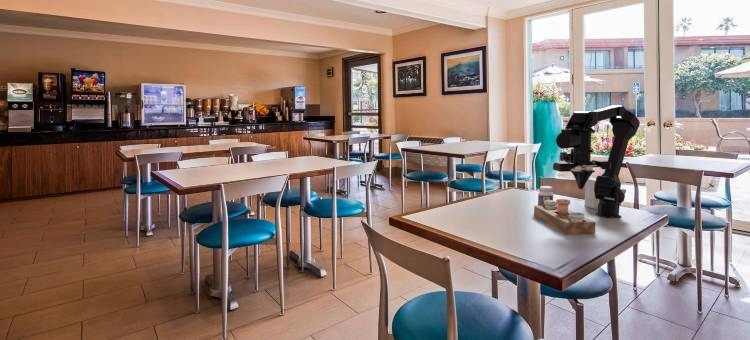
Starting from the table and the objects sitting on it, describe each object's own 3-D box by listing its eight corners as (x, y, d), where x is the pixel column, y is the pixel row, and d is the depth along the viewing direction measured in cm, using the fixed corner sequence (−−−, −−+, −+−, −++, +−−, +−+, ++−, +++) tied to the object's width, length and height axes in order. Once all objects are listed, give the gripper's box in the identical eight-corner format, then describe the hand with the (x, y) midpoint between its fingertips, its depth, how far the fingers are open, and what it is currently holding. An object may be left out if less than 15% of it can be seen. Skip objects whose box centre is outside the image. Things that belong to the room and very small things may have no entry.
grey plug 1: (552, 215, 163) (553, 200, 162) (558, 218, 158) (559, 202, 157) (541, 215, 162) (542, 200, 162) (546, 218, 158) (547, 203, 157)
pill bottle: (554, 212, 168) (555, 188, 166) (539, 212, 169) (540, 188, 167) (550, 209, 173) (551, 185, 172) (536, 208, 174) (537, 185, 173)
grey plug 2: (578, 228, 144) (579, 211, 143) (586, 232, 139) (587, 215, 138) (565, 229, 144) (566, 212, 143) (572, 232, 139) (573, 215, 138)
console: (558, 214, 164) (559, 205, 163) (595, 233, 139) (595, 221, 138) (533, 215, 163) (534, 205, 162) (565, 234, 138) (566, 222, 138)
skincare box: (603, 208, 172) (604, 179, 171) (593, 209, 171) (595, 180, 170) (592, 205, 178) (594, 177, 177) (583, 206, 177) (584, 178, 176)
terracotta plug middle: (565, 214, 153) (566, 198, 152) (571, 217, 148) (572, 201, 148) (553, 215, 153) (553, 199, 152) (559, 218, 148) (560, 201, 147)
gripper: (593, 143, 157) (592, 183, 160) (546, 145, 156) (545, 186, 159) (612, 145, 146) (610, 189, 149) (561, 148, 145) (560, 192, 148)
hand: (580, 189), depth 151 cm, fingers closed
